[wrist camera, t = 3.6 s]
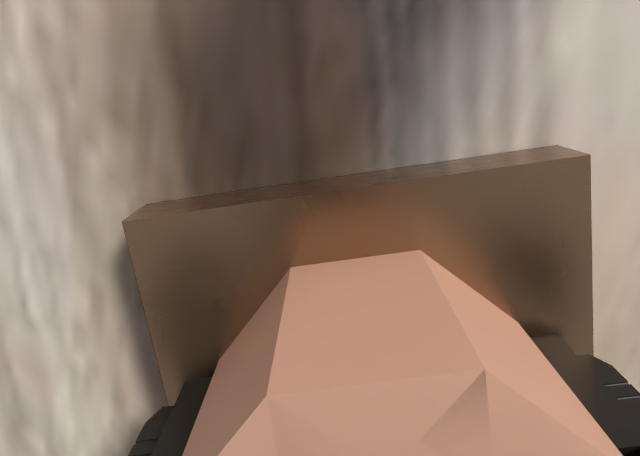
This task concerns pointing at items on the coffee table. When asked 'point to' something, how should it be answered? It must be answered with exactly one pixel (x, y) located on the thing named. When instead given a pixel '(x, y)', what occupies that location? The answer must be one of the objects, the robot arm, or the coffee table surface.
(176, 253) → the brown square stand
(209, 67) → the coffee table surface
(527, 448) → the ring
